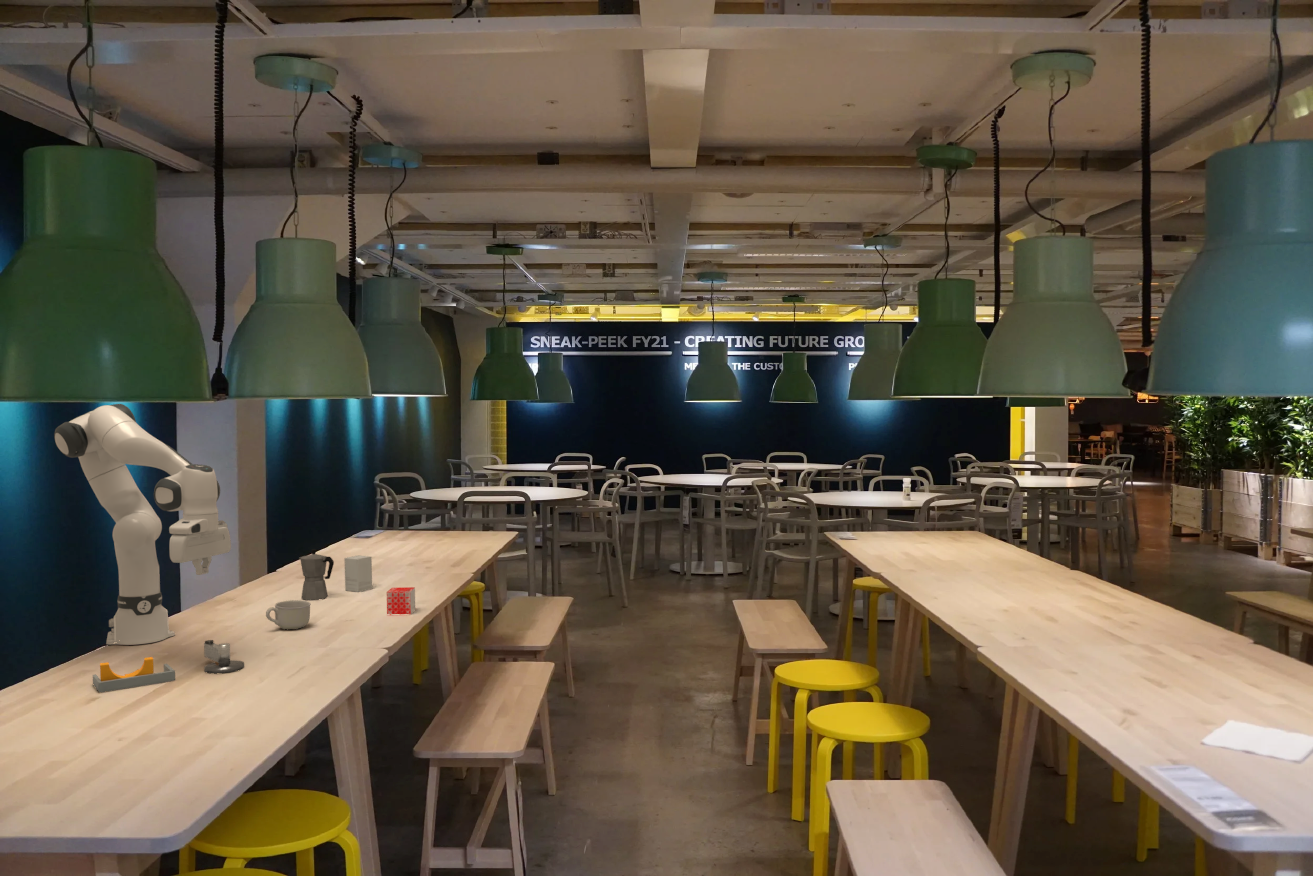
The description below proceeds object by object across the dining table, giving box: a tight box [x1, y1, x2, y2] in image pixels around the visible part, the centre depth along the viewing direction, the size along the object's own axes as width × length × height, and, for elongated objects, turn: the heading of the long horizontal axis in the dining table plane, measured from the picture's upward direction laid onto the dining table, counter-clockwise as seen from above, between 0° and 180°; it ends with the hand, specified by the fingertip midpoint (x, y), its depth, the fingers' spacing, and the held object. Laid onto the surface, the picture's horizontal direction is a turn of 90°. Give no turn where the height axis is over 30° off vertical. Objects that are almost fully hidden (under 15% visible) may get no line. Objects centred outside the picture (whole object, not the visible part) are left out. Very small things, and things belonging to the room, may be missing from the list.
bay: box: [92, 663, 176, 693], centre depth 264 cm, size 10×18×2 cm, turn 127°
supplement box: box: [343, 555, 373, 593], centre depth 389 cm, size 7×7×13 cm
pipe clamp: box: [99, 656, 155, 681], centre depth 262 cm, size 12×4×6 cm, turn 120°
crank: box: [203, 639, 231, 666], centre depth 280 cm, size 12×3×5 cm, turn 46°
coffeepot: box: [298, 548, 335, 601], centre depth 373 cm, size 15×9×18 cm, turn 68°
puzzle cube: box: [386, 586, 416, 615], centre depth 347 cm, size 8×8×8 cm
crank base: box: [203, 659, 245, 675], centre depth 277 cm, size 10×10×1 cm
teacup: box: [265, 599, 311, 631], centre depth 325 cm, size 14×11×8 cm
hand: (202, 574), depth 280 cm, fingers closed
